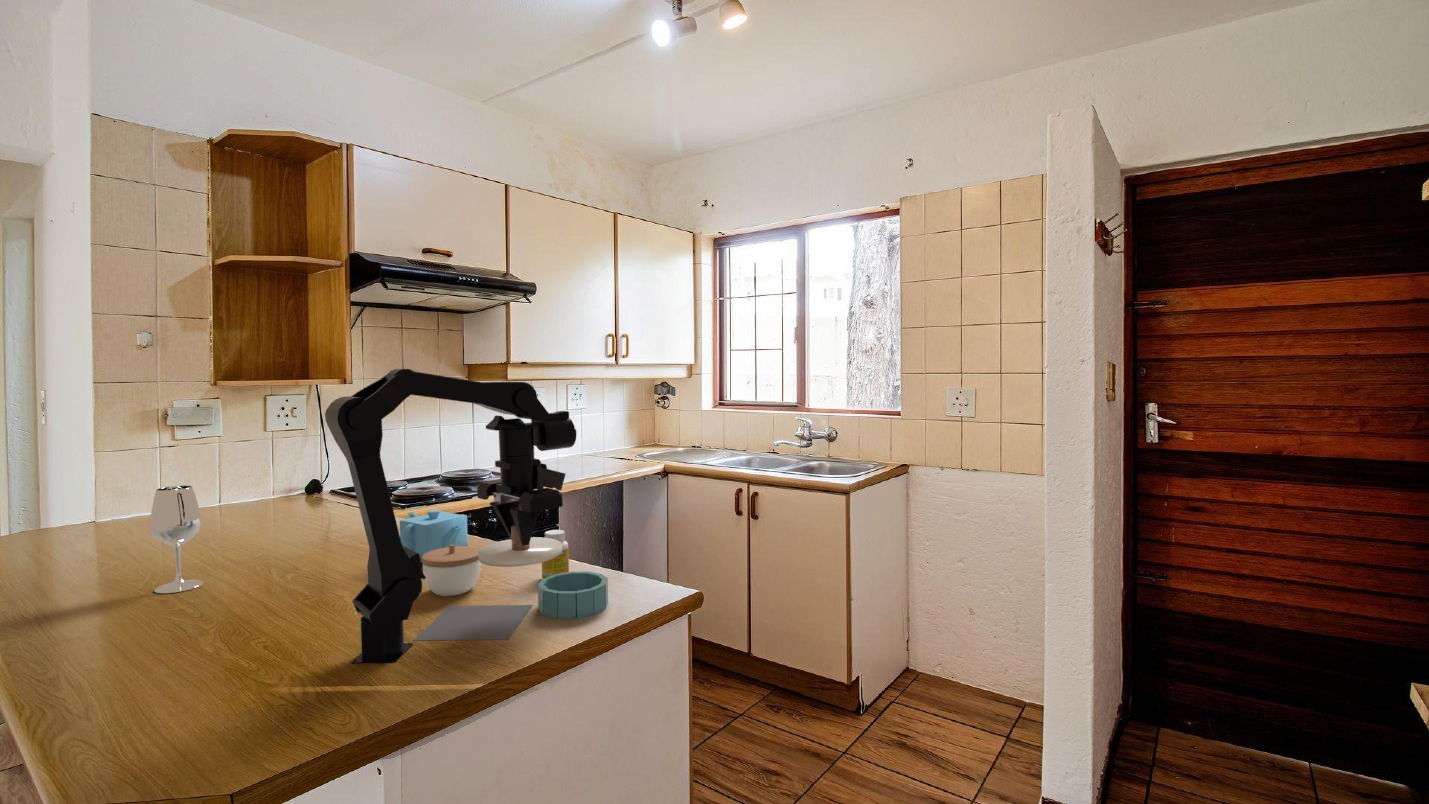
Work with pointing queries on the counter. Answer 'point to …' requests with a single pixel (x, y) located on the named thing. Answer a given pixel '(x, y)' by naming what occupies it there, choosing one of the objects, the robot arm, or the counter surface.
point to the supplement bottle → (559, 562)
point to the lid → (519, 551)
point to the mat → (475, 623)
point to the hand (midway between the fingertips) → (520, 543)
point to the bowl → (572, 595)
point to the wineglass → (175, 528)
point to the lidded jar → (451, 569)
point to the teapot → (433, 531)
